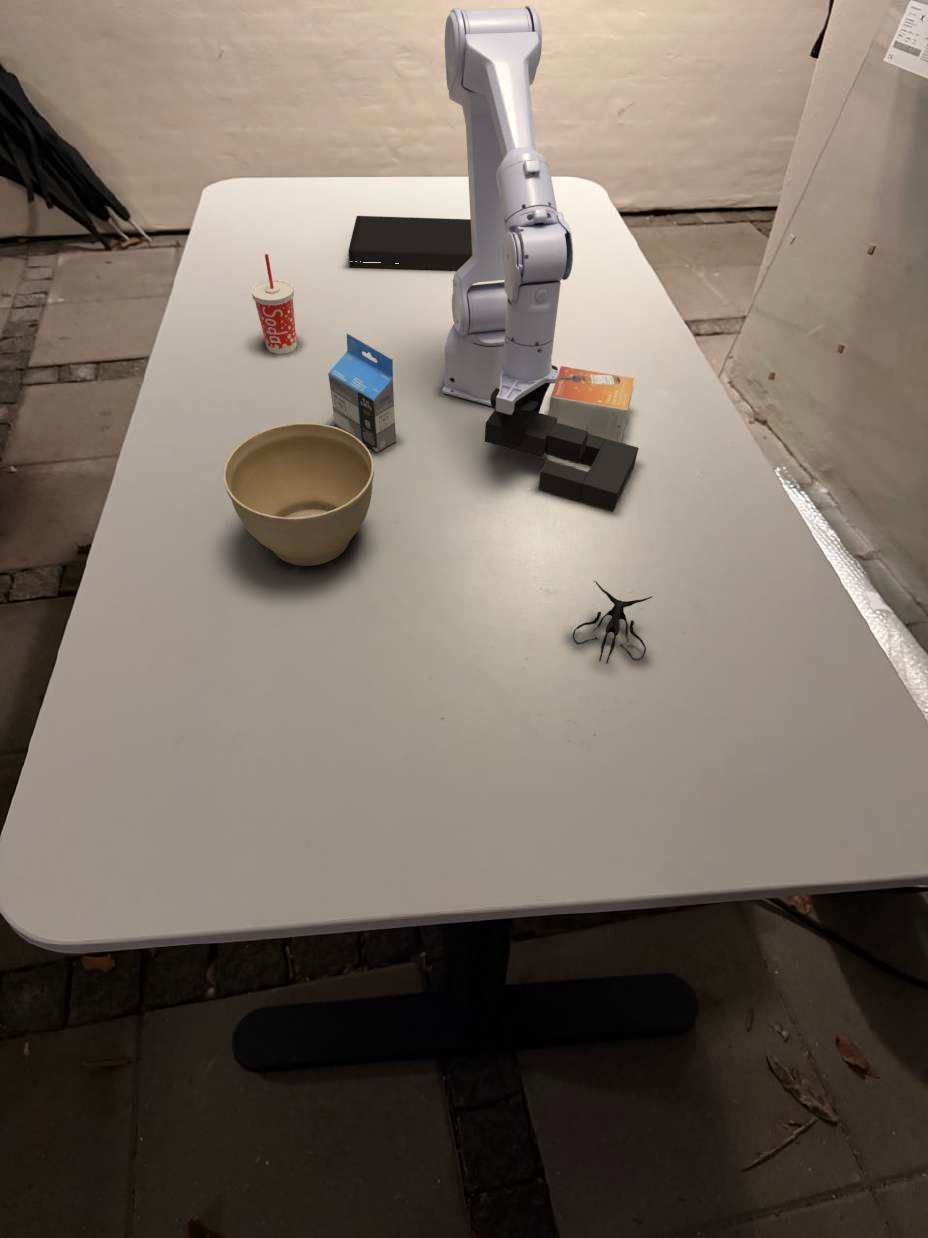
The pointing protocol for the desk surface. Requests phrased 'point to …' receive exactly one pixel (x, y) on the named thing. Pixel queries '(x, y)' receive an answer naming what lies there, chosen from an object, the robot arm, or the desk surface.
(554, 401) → the small box
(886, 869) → the desk surface
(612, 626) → the creature
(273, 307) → the beverage cup
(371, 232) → the black electronic device box
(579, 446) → the pad
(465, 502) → the desk surface
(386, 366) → the ink cartridge box
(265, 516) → the planter bowl
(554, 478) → the notch pad
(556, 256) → the robot arm
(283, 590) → the desk surface
